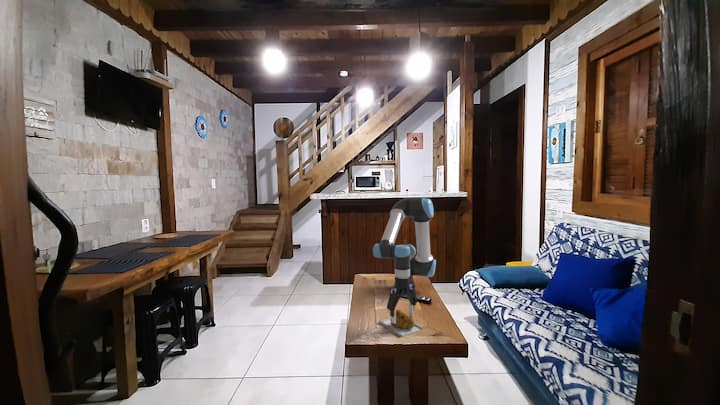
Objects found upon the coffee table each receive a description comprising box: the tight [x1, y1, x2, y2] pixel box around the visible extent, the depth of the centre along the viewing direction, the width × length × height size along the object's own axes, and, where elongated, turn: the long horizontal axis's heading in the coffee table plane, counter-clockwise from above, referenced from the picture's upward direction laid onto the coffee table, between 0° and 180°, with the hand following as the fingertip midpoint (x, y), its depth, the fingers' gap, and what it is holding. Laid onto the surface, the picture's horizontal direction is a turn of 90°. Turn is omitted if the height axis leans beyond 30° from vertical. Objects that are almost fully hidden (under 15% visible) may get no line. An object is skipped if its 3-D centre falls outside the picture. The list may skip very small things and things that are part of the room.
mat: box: [378, 317, 423, 338], centre depth 155 cm, size 14×18×1 cm
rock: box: [389, 309, 415, 329], centre depth 153 cm, size 11×8×10 cm
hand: (402, 319), depth 153 cm, fingers closed on rock, 11 cm apart
